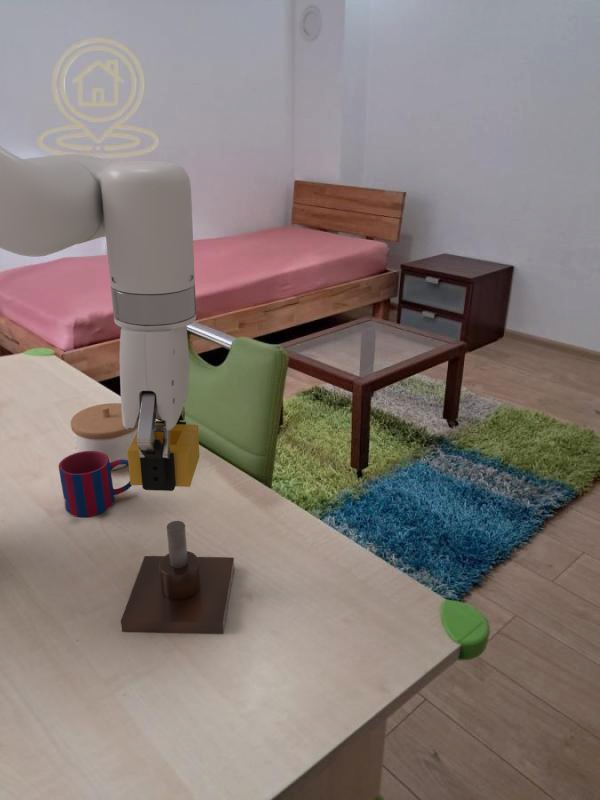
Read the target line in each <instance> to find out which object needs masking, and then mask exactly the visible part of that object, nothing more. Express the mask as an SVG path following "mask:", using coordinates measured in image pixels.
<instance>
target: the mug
mask: <svg viewBox="0 0 600 800" xmlns="http://www.w3.org/2000/svg"><path fill="white" fill-rule="evenodd" d="M120 464H126V466H128V467H129V463H128V460H125V459H121V460H116V461H114V462H111V463H110V462H109V457H108V456H107V455H106V454H104V453H102V452H98V451H83V452H79V451H77V452H75V453H72V454H69V455H67V456H66V457H64V458H63V459H62V460H61V461H60V462H59V463H58V473H59V477H60V484H61V489H62V495H63V501H64V502H63V503H64V505H65V506H64V507H65V510H66V512H67V513H68V514H69V515H71V516H74V517H81V518H83V517H84V518H86V517H93V516H98V515H101V514H102V513H104V512H106V511H108V510H109V509H110V508H111V507H112V506H113V505H114V503H115V496H117V495H120V494H122V493H124V492H126V491H128V490H129V489H130V488H131V487H132V486H133V485H131V484H130V481H129V482H127V483H126V484H125V485H123V486H121V487H118V488H114V484H113V477H112V471H113V470H112V469H113V468H114V467H116V466H117V465H120Z"/></svg>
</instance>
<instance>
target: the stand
mask: <svg viewBox="0 0 600 800" xmlns="http://www.w3.org/2000/svg"><path fill="white" fill-rule="evenodd" d="M166 536H167V547H168V553H167V554H165V555H144V557H143V560H142V562H141V565H140V568H139V571H138V573H137V575H136V579H135V582H134V584H133V586H132V589H131V591H130V595H129V597H128V600H127V603H126V605H125V608H124V610H123V614H122V616H121V619H120V628H121V632H125V633H126V632H129V633H131V632H132V633H175V634H178V633H182V634H224V630H225V627H226V619H227V613H228V607H229V601H230V596H231V589H232V584H233V583H232V582H233V578H234V571H235V557H232V556H230V557H229V556H197V554H196V553H193V552H191V551H188V545H187V533H186V524H185V522H184V521H181V520H173V521H170V522H168V524H166Z"/></svg>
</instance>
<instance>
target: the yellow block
mask: <svg viewBox="0 0 600 800" xmlns="http://www.w3.org/2000/svg"><path fill="white" fill-rule="evenodd" d="M155 424H158V425H165V424H159V423H155ZM137 434H138V431H137V433H136V435H135V437H134V439H133V441H132V443H131V445H130V446H129V448H128V450H127V453H128V463H129V466H128V474H129V482H130V484H131V485H132V486H142V476H141V465H140V456H139V447H138V445H137ZM154 435H155V437H156V440H160V441H161V443H162V444H163V432H154ZM199 435H200V434H199V424H187V423H186V424H176V425H175V426H174V427H173V428H172V429H171V439H170V453H174V466H175V482H176V486H175V487H179V488H182V487H184V488H187V487H188V488H190V487H191V485H192V482H193V478H194V475H195V473H196V470H197V466H198V463H199V460H200V438H199V437H200V436H199Z"/></svg>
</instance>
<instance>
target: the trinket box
mask: <svg viewBox="0 0 600 800" xmlns="http://www.w3.org/2000/svg"><path fill="white" fill-rule="evenodd" d="M138 426H139V420H138V422H137V423H136V425H135V427H134V428H131V429H130V430H128V429H126V428H125V427H124V426H123V422H122V407H121V402H120V403H119V402H118V403H116V402H115V403H113V402H111V403H101V404H96V405H92V406H89V407H86V408H83V409H81V410H80V411H78V412H76V413H75V414H74V415H73V416H72V417H71V420H70V429H71V431H72V436H73V440H74V445H75V447H76V449H77V452H83V451H98V452H102V453H104V454H106V455H107V456H108V457H109V462H110V463H111V462H114V461H116V460H121V459H125V460H128V453H127V450H128V448H129V446H130V445H131V443H132V441H133V439H134V437H135V435H136V433H137V431H138ZM126 466H127V465H126V464H120V465H117V466H116V467H114V468H113V469H112V470H111V471H113V470H119V469H121V468H124V467H126Z"/></svg>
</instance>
